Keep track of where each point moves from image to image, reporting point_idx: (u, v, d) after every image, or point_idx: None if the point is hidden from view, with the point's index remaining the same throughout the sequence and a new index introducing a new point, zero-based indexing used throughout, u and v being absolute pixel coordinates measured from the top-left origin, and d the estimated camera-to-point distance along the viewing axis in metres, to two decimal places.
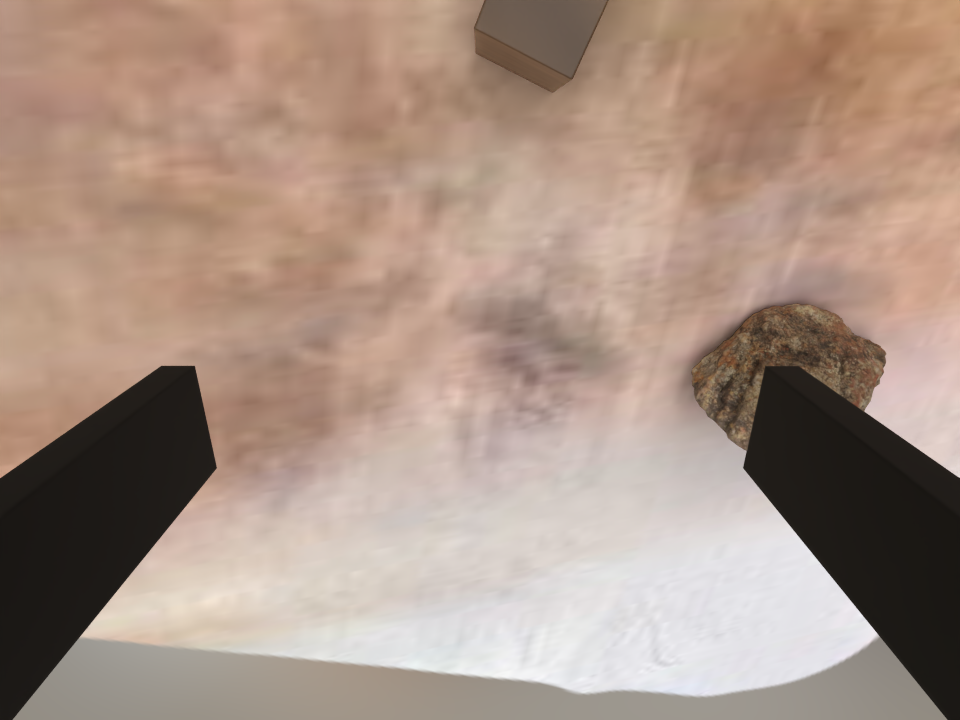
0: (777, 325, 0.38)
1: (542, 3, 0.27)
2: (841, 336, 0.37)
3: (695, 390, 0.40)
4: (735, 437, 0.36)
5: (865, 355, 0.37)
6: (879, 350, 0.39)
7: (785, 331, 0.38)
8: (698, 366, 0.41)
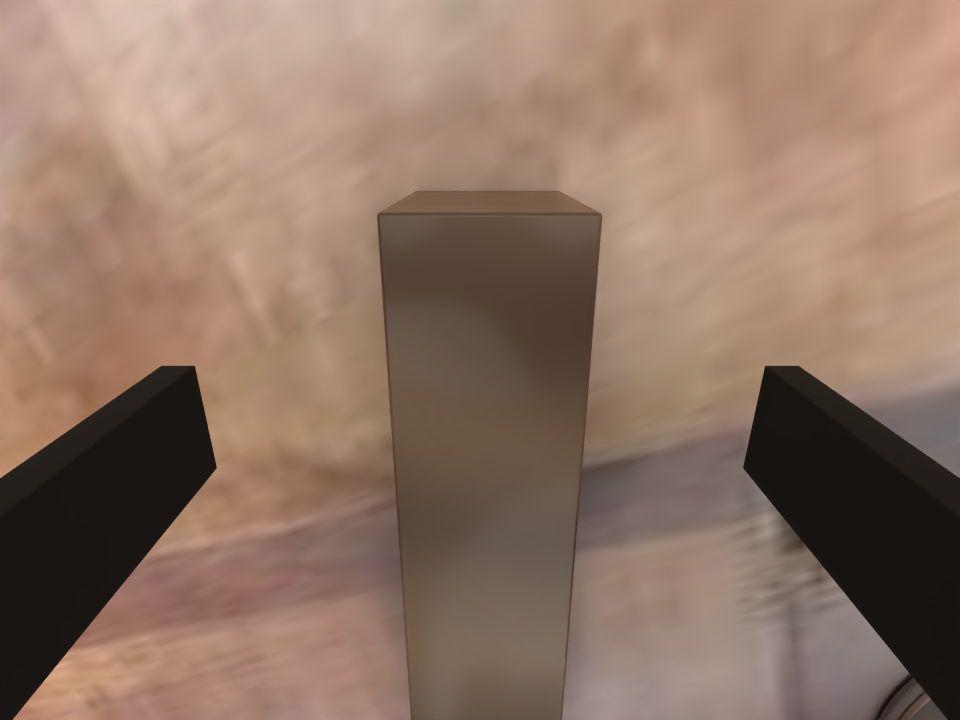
0: None
1: (492, 306, 0.14)
2: None
3: None
4: None
5: None
6: None
7: None
8: None
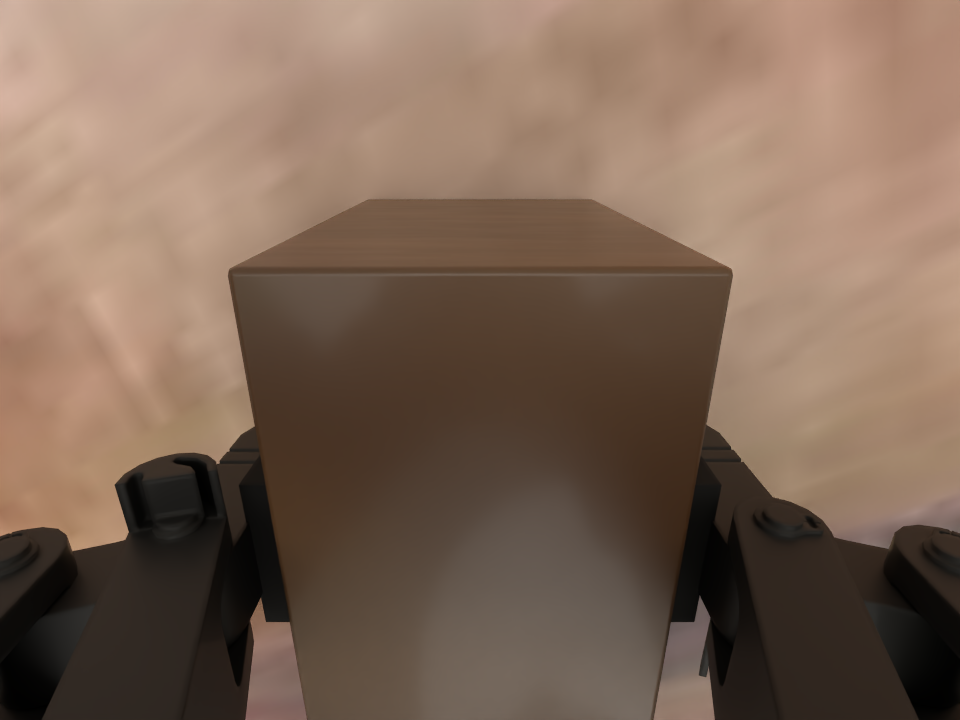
0: None
1: (488, 456, 0.07)
2: None
3: None
4: None
5: None
6: None
7: None
8: None
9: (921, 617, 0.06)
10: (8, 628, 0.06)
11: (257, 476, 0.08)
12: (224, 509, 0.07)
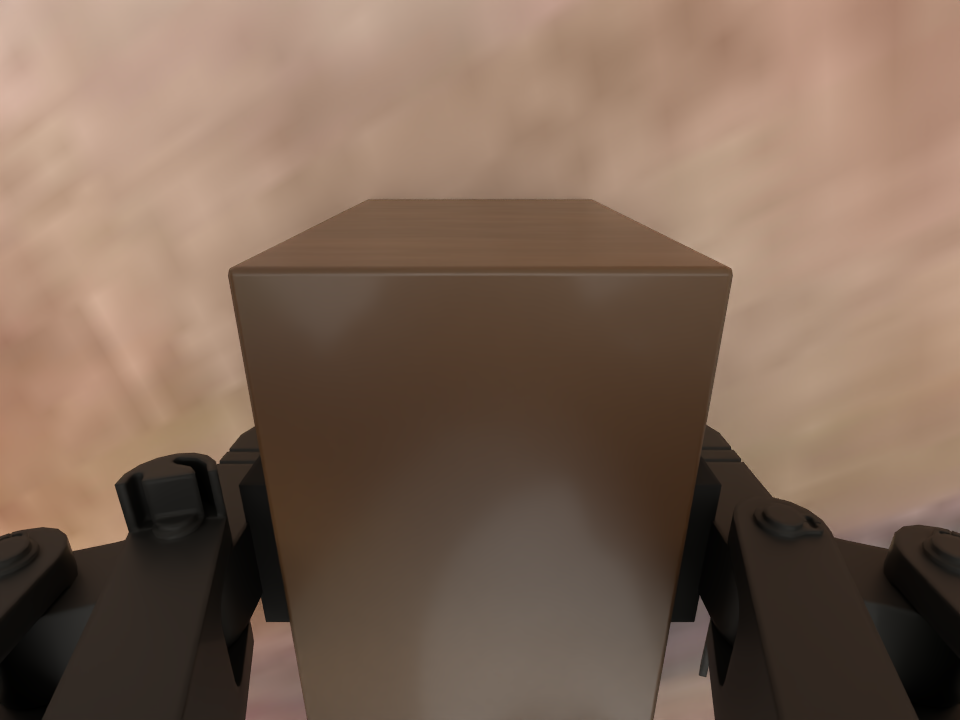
0: None
1: (488, 455, 0.07)
2: None
3: None
4: None
5: None
6: None
7: None
8: None
9: (922, 617, 0.06)
10: (8, 628, 0.06)
11: (257, 476, 0.08)
12: (224, 509, 0.07)
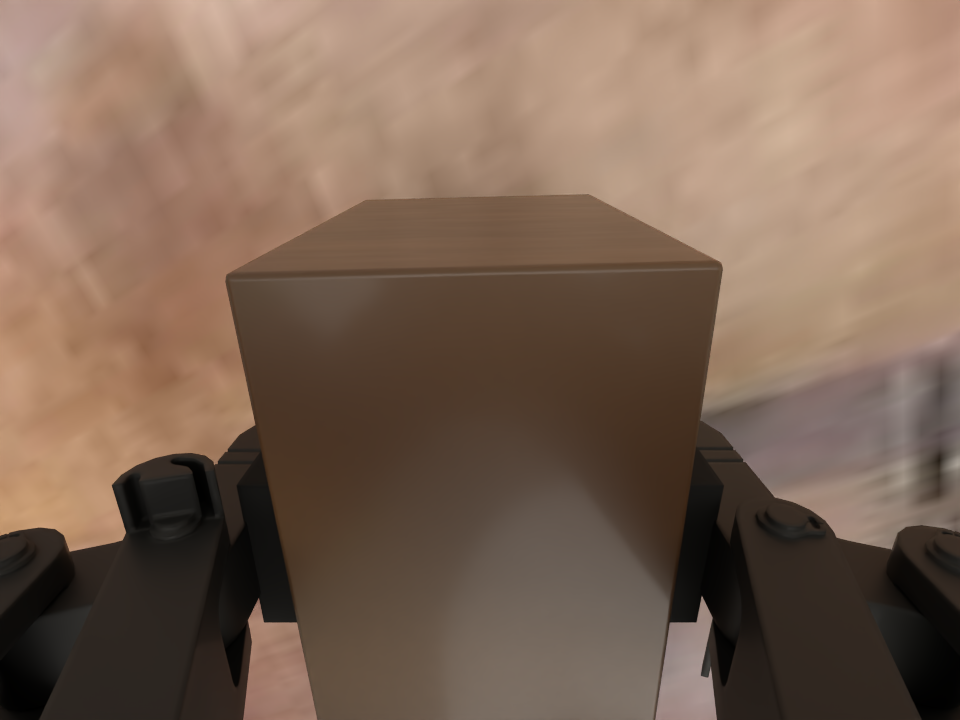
0: None
1: (486, 452, 0.07)
2: None
3: None
4: None
5: None
6: None
7: None
8: None
9: (926, 619, 0.06)
10: (5, 628, 0.06)
11: (255, 477, 0.08)
12: (222, 509, 0.07)
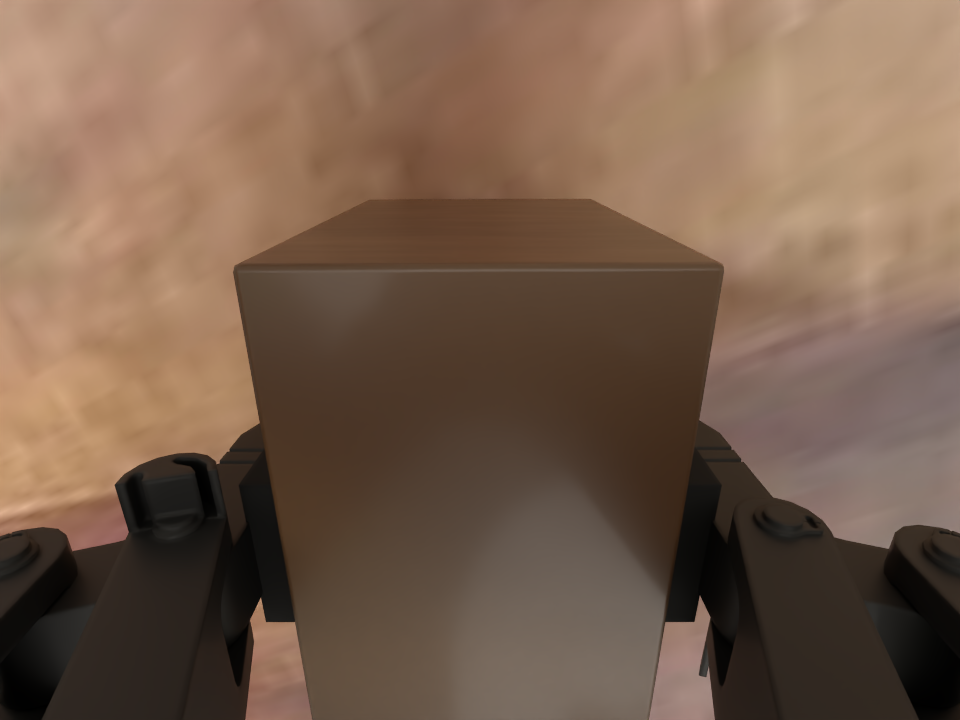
0: None
1: (487, 448, 0.07)
2: None
3: None
4: None
5: None
6: None
7: None
8: None
9: (921, 617, 0.06)
10: (8, 628, 0.06)
11: (257, 476, 0.08)
12: (225, 509, 0.07)
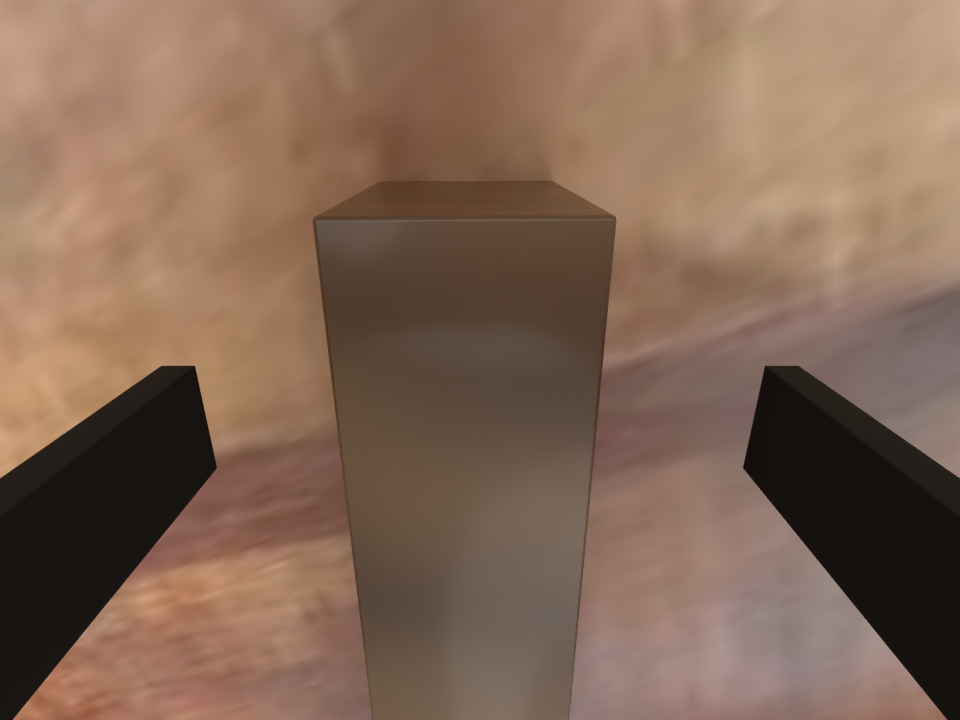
0: None
1: (472, 338, 0.11)
2: None
3: None
4: None
5: None
6: None
7: None
8: None
9: None
10: None
11: None
12: None
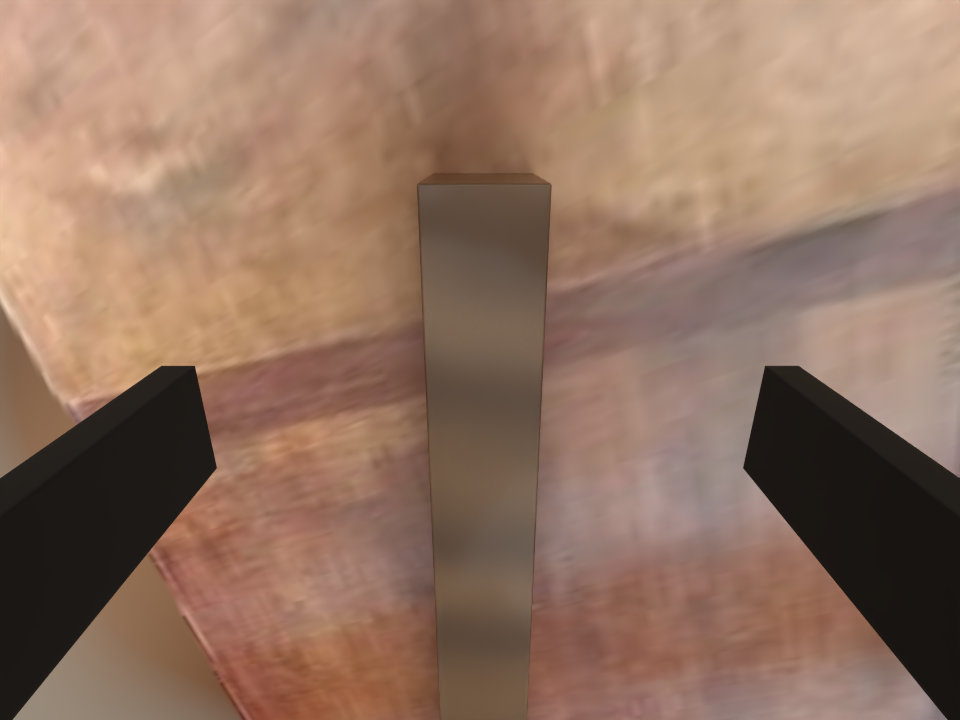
0: None
1: (486, 241, 0.23)
2: None
3: None
4: None
5: None
6: None
7: None
8: None
9: None
10: None
11: None
12: None
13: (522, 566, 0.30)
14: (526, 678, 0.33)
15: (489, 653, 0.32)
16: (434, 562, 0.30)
